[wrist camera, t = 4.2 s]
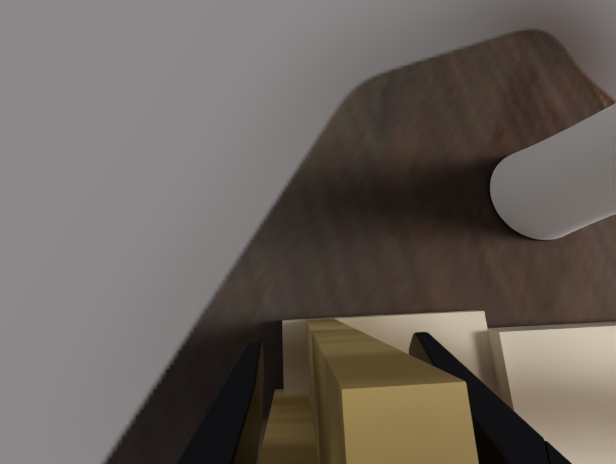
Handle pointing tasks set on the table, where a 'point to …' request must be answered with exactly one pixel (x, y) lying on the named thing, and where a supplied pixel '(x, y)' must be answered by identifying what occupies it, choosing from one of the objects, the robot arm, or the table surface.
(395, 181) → the table surface
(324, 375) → the cream and yellow stand
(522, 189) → the cosmetic bottle
